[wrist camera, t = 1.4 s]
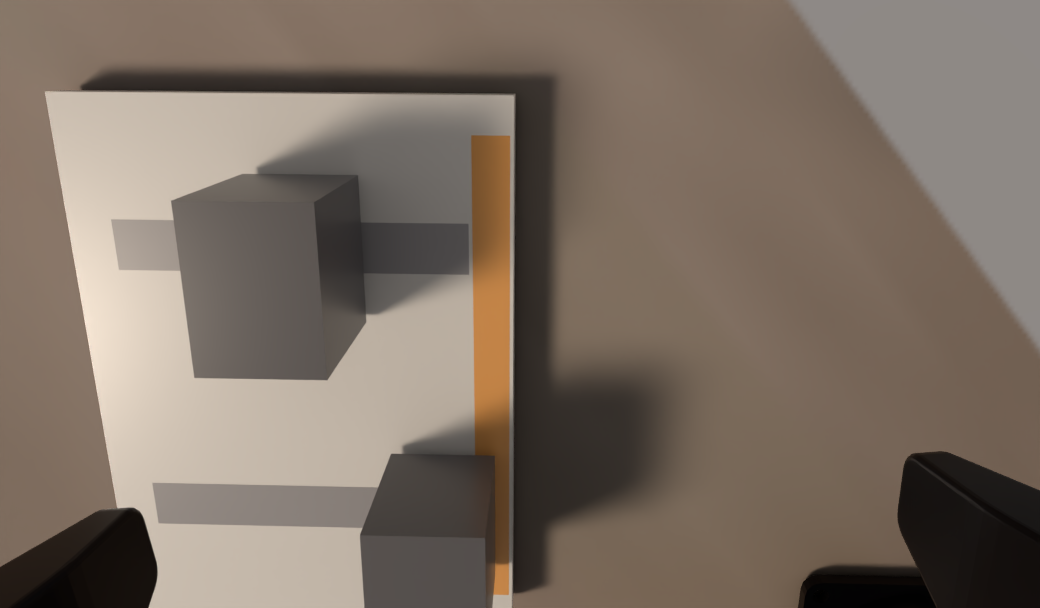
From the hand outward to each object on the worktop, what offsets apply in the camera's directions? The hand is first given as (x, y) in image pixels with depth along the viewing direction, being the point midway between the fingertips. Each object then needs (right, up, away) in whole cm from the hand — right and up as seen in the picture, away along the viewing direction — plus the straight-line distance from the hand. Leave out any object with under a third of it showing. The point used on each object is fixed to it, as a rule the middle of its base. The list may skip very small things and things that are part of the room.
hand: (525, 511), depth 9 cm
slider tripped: (-6, +4, +11) cm, 13 cm away
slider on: (-2, -4, +14) cm, 14 cm away
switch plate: (-6, 0, +14) cm, 15 cm away
